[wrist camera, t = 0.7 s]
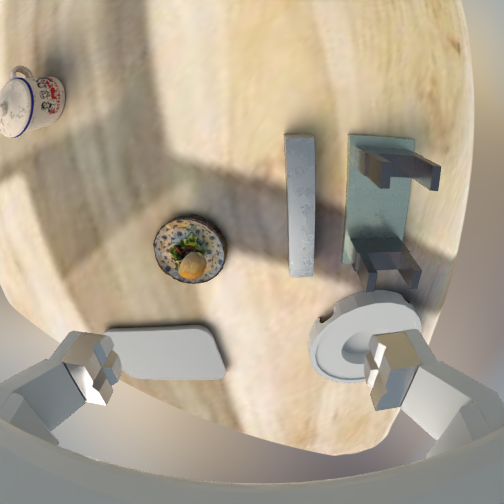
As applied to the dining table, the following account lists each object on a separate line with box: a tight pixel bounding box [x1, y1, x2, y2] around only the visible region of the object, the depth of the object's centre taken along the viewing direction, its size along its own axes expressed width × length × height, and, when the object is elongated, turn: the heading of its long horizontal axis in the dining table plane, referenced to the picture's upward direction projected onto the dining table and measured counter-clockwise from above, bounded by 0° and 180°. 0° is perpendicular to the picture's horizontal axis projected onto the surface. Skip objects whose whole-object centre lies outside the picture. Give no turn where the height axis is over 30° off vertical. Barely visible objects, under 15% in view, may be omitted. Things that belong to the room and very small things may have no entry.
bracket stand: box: [341, 135, 441, 292], centre depth 36 cm, size 20×10×10 cm, turn 4°
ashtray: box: [308, 290, 422, 383], centre depth 53 cm, size 23×23×4 cm
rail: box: [284, 134, 315, 277], centre depth 40 cm, size 20×4×4 cm, turn 4°
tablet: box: [103, 325, 226, 380], centre depth 59 cm, size 16×26×2 cm, turn 100°
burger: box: [153, 215, 227, 284], centre depth 44 cm, size 12×12×8 cm
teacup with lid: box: [0, 66, 65, 138], centre depth 28 cm, size 12×9×12 cm
